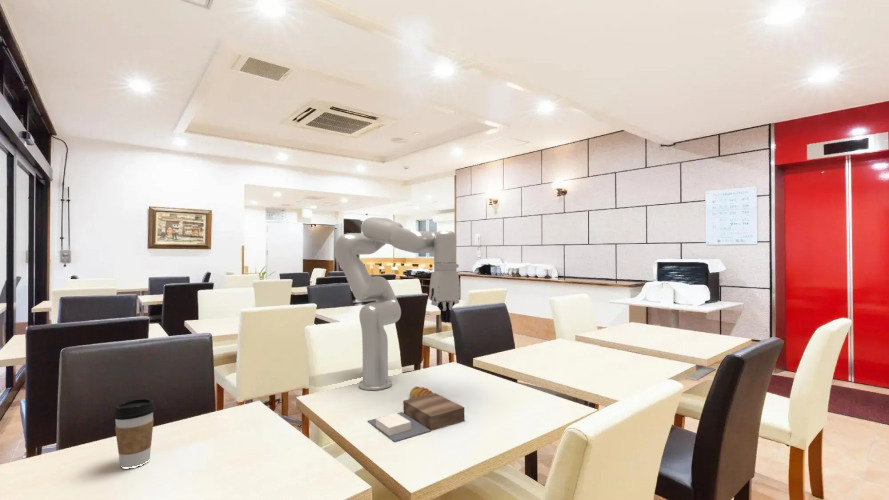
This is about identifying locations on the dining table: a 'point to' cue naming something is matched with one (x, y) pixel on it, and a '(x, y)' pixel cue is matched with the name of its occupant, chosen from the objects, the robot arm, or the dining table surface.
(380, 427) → the tile
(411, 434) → the mat
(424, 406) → the serving board
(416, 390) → the pastry
